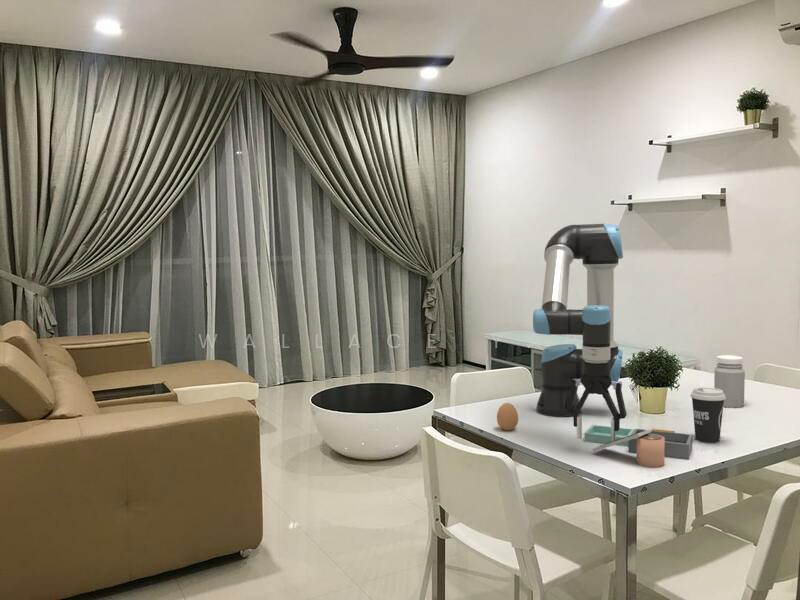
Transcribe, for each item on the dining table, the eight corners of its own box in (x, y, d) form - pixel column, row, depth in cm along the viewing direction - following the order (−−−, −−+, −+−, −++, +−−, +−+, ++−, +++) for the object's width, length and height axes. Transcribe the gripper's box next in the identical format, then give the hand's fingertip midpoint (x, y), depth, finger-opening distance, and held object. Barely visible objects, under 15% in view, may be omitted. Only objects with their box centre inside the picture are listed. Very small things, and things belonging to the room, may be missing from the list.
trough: (584, 441, 198) (584, 433, 198) (592, 432, 207) (592, 424, 207) (628, 446, 192) (628, 438, 192) (634, 437, 201) (634, 429, 201)
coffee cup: (695, 433, 204) (695, 385, 202) (728, 438, 198) (729, 389, 196) (685, 441, 196) (686, 391, 195) (720, 446, 190) (721, 395, 189)
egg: (492, 430, 212) (492, 402, 211) (506, 426, 216) (506, 399, 216) (508, 434, 207) (508, 406, 206) (522, 430, 211) (522, 402, 211)
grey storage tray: (628, 452, 187) (628, 436, 187) (635, 441, 197) (635, 426, 196) (688, 459, 180) (689, 442, 179) (692, 448, 189) (692, 432, 189)
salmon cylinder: (634, 465, 176) (634, 438, 175) (638, 457, 182) (638, 432, 181) (662, 468, 172) (662, 441, 172) (666, 460, 179) (666, 435, 178)
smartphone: (605, 446, 190) (604, 443, 190) (652, 431, 180) (650, 428, 180) (592, 452, 185) (591, 448, 186) (639, 437, 175) (637, 433, 175)
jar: (750, 408, 233) (751, 357, 232) (730, 411, 230) (730, 360, 229) (727, 402, 243) (728, 354, 241) (707, 405, 239) (708, 356, 238)
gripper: (554, 360, 188) (555, 439, 189) (634, 365, 177) (633, 448, 179) (561, 356, 194) (561, 432, 196) (638, 360, 184) (638, 441, 186)
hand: (596, 440), depth 188 cm, fingers open, 9 cm apart
